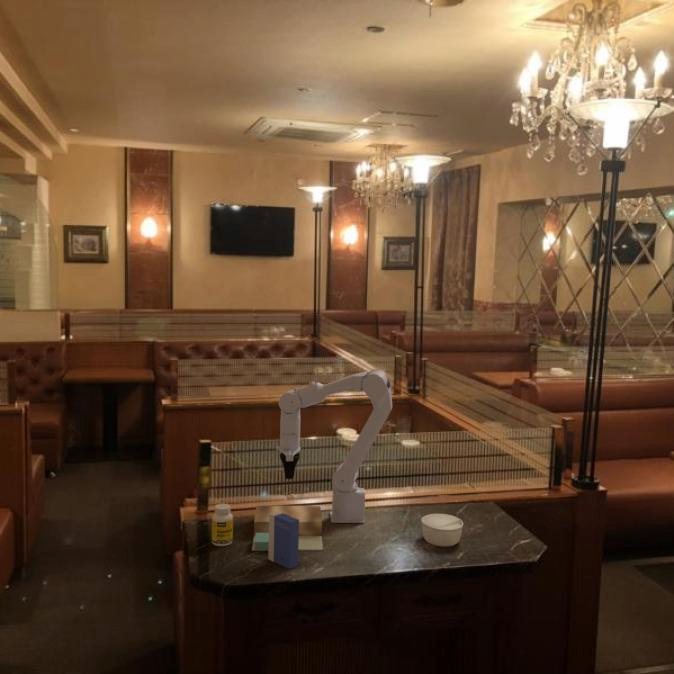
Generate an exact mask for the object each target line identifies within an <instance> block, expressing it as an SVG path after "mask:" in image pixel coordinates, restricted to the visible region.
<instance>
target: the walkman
mask: <svg viewBox="0 0 674 674" xmlns="http://www.w3.org/2000/svg"><path fill="white" fill-rule="evenodd" d="M298 545H299V519H296V517H294V516H289V515H286V514H284V513H281V512H278V511H277V512H273V513H270V514H269V551H268V556H267V557H268V560H270V561H271V562H274V563H275V564H277V565H280V566H283V567H285V568H286V569H289V570H291V569H294V568H296V567H298V566H299V551H298Z"/></svg>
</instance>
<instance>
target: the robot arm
mask: <svg viewBox="0 0 674 674" xmlns="http://www.w3.org/2000/svg"><path fill="white" fill-rule="evenodd" d="M349 390H354V391H356V392H359V393H362V391H363V392H364V393H365V394H366V396H367V398H369V400H370V403H371V404H372V407H373V410H372V412H371V413H370V415H369V417H368V419H367V421H366V423H364V426H363V428H362V429H361V431H360V433H359V436H358V437H357V438H356V440H355V443H354V444H353V446H352V448H351V449H350V451H349V453H348V455H347V457H346V458H345V460H344V461H342V462H341V463H340V464H338V467H337V469H336V471H335V472H334V473H332V474H333V475H332V477H331V483H332V497H331V500H332V501H331V503H332V504H331V510H330V511H329V516H330V523H331V524H333V523H334V524H338V523H340V524H364V523H365V514H366V492H365V491H366V490H365V488H364V487H359V486H358V484H357V482H356V480H357V479H358V477H359V474H360V468H361V465H362V463H363V462H364V460H365V458H366V456H367V454H368V453H369V451H370V449H371V448H372V445H373V443H374V442H375V440H376V438H377V436H378V434H380V432H381V429H382V428H383V426H384V424H385V422H386V421H387V419H388V417H389V416H390V413H391V412H392V409H393V397H392V383H391V380H390V378H389V376H388V374H387V373H386V372H385V370H382V369H380V368H379V369H378V368H376V369H373V370H370V371H369V370H368V371H362V372H357V373H354V374H351V375H348V376H346V377H343V378H340V379H337V380H334V381H332V382H329V383H327V384H322V382H321V383H320V382H315V381H310V382H309V383H308V385H305V386H302V387H299V388H298V386H296V387H294V388H293V389H291V390H290V389H289V390H288V391H286V392H285V393H283V394H282V395H281V396H280V397H279V400H278V406H279V409H280V419H279V421H280V426H279V427H280V428H279V429H280V432H279V434H280V435H279V436H280V438H279V439H280V440H279V446H275V450H276V451H280V453H279V454H280V455H279V458H280V461H281V463H282V465H283V471H284V478H285V480H293V479H294V477H295V471H296V467H297V464H298V461H299V460H300V458H301V457H300V451H301V448H302V447H301V408H303V409H304V408H307V407H310V406H313V405H317V404H320V403H321V404H322V403H323V402H325V401H326V398H327V397H328V396H331V395H335V394H338V393H342V392H345V391H349Z"/></svg>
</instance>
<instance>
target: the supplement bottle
mask: <svg viewBox="0 0 674 674" xmlns="http://www.w3.org/2000/svg"><path fill="white" fill-rule="evenodd" d="M233 533H234V515H233V514H232V513H231V505H230V504H228V503H218V504H216V505H215V506H214V513H213V514H212V517H211V544H213V546H217V547H225V546H229V545H231V544H232V543H233V537H234V536H233Z"/></svg>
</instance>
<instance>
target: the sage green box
mask: <svg viewBox="0 0 674 674" xmlns="http://www.w3.org/2000/svg"><path fill="white" fill-rule="evenodd" d="M255 550H269V533H256V537H255Z"/></svg>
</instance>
